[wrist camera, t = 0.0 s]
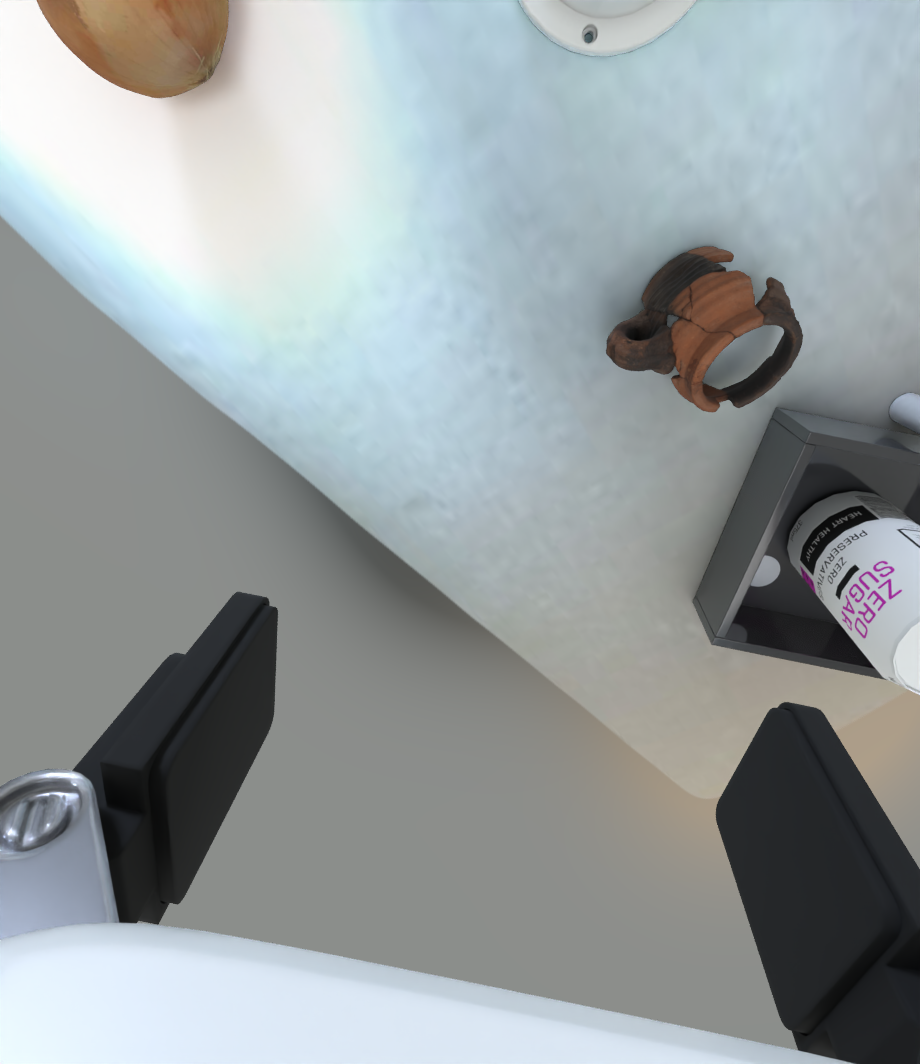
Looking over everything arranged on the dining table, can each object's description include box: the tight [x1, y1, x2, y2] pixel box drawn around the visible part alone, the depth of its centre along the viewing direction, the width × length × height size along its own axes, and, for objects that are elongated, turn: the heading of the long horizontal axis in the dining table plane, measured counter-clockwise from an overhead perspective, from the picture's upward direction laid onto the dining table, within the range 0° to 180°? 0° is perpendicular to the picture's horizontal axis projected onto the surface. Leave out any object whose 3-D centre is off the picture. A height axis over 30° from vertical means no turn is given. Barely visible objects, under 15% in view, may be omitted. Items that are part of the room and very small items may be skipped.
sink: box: [693, 393, 920, 680], centre depth 43 cm, size 20×18×11 cm
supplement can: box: [787, 491, 920, 695], centre depth 41 cm, size 8×8×15 cm
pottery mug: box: [606, 247, 803, 412], centre depth 40 cm, size 12×10×8 cm
